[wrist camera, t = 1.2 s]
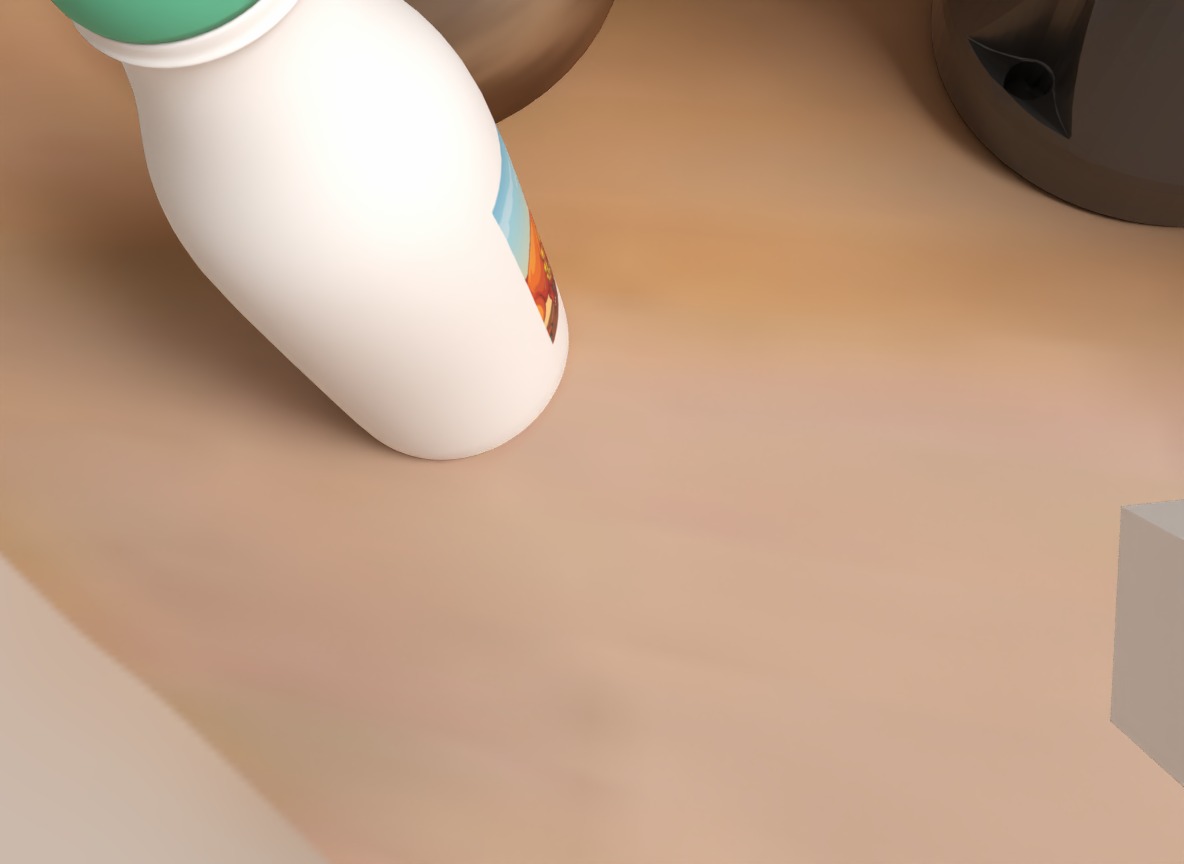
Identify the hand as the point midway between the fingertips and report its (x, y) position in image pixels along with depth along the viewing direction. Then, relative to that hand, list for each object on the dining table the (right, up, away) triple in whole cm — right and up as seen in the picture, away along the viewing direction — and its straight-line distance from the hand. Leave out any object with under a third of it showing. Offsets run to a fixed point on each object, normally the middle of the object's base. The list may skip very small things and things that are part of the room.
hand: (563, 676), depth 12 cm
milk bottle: (-4, +5, +23) cm, 24 cm away
